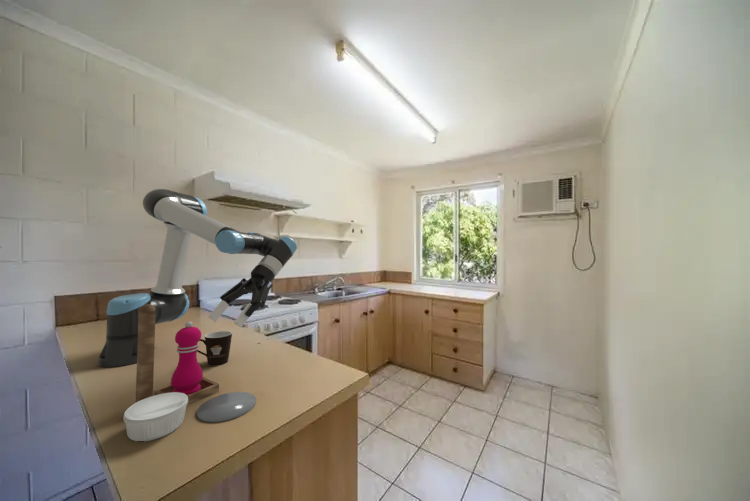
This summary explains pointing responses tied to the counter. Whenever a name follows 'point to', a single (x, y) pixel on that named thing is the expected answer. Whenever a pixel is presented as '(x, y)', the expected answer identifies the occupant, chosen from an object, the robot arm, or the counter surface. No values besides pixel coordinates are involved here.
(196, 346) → the pepper mill
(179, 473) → the counter surface
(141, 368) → the wooden stand
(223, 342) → the coffee mug
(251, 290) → the robot arm
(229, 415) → the slate coaster
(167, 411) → the ramekin
